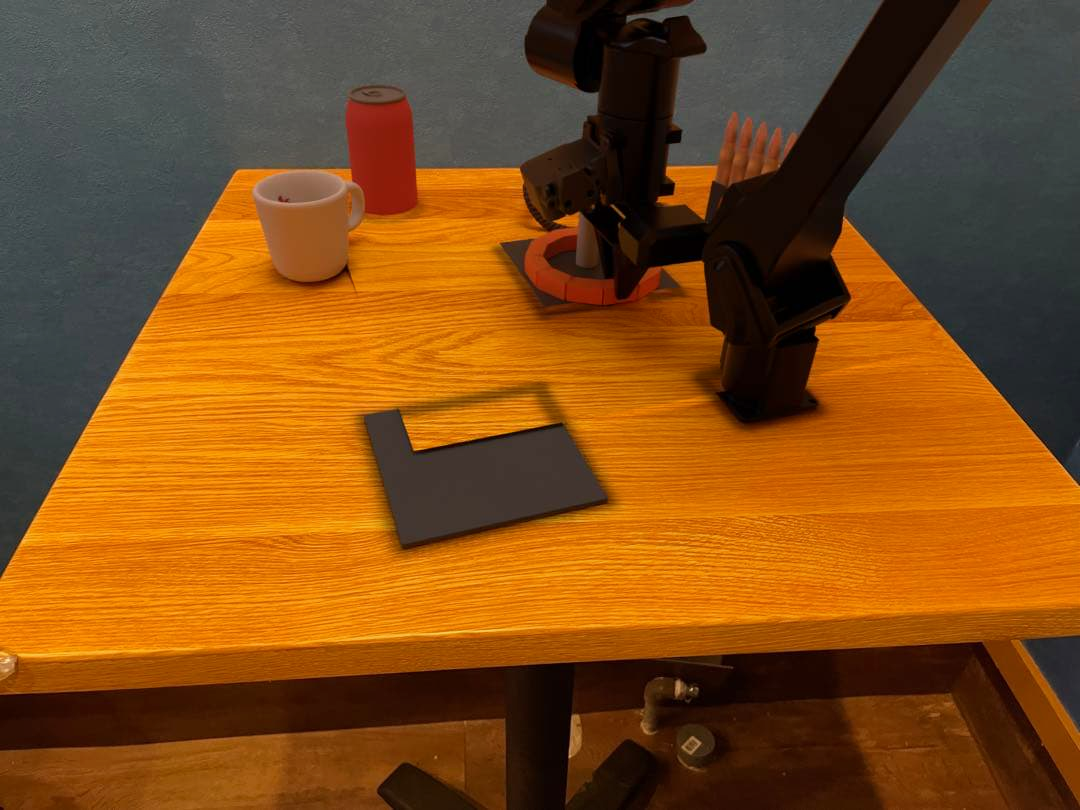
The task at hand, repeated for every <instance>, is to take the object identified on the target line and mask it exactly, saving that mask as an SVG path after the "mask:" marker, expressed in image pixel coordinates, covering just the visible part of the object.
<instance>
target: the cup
mask: <svg viewBox="0 0 1080 810" xmlns="http://www.w3.org/2000/svg"><path fill="white" fill-rule="evenodd" d="M251 194H252V198H253V202H254V205H255V209H256V212H257V215H258V218H259V223H260V226H261V229H262V232H263V236H264V239H265V242H266V245H267V249H268V252H269V256H270V258H271V261H272V264H273V266H274V268H275V269H276V271H277V272H278V273H279V274H280V275H281V276H282V277H284V278H286V279H288V280H290V281H294V282H295V281H296V282H303V283H315V282H320V281H325V280H328V279H330V278H333V277H335V276H337V275H338V274H340V273H341V272H342V271H343V270H344V269H345V267H346V265H347V263H348V261H349V247H350V245H349V233H351V232H353V231H354V230H356V229H357V228H358V227H360V225H361V224H362V222H363V219H364V216H365V212H364V211H365V200H364V194H363V191H362V189H361V188H360V187H359V185H357V184H356V183H353V182H352V181H350V180H345V179H344V178H343V177H341V176H340V175H337V174H335V173H332V172H329V171H325V170H324V171H323V170H313V169H299V170H297V169H296V170H289V171H283V172H278V173H275V174H272V175H268V176H266V177H264V178H262V179H260V180H259V181H258V182H256V184H255V185H254V186H253V188H252V193H251ZM349 194H350V197H351V210H350V215H349Z"/></svg>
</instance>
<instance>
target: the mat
mask: <svg viewBox="0 0 1080 810" xmlns="http://www.w3.org/2000/svg"><path fill="white" fill-rule="evenodd" d="M363 419H364V424H365V427H366V430H367V433H368V437H369V440H370V444H371V447H372V450H373V454H374V457H375V460H376V464H377V467H378V470H379V472H380V477H381V480H382V483H383V487H384V492H385V495H386V497H387V501H388V504H389V508H390V511H391V515H392V518H393V521H394V525H395V527H396V528H395V529H396V531H397V534H398V537H399V542H400V544H401V547H402V549H403V550H404V549H408V548H412V547H418V546H421V545H426V544H430V543H431V544H432V543H436V542H439V541H443V540H448V539H453V538H456V537H461V536H466V535H471V534H474V533H480V532H482V531H488V530H493V529H498V528H499V527H501V528H502V527H505V526H510V525H514V524H518V523H523V522H526V521H532V520H535V519H536V520H537V519H540V518H544V517H545V518H546V517H549V516H552V515H553V516H554V515H558V514H562V513H566V512H571V511H575V510H576V511H577V510H579V509H583V508H589V507H592V506H598V505H601V504H606V503H608V500H609V498H608V496H607V494H606V492H605V491H604V489H603V487H602V486H601V484H600V482H599V481H598V479H597V477H596V475H595V473H594V472H593V471H592V469H591V468H590V466H589V464H588V462H587V460H586V459H585V458H584V456H583V454H582V453H581V451H580V449H579V447H578V446H577V445H576V443H575V441H574V440H573V437H572V436H571V435H570V433H569V431H568V430H567V428H566V426H565V424H564V423H563V422H556V423H551V424H546V425H542V426H541V425H540V426H537V427H536V426H535V427H532V428H531V427H530V428H526V429H521V430H516V431H511V432H505V433H500V434H495V435H490V436H489V435H488V436H485V437H484V436H483V437H479V438H475V439H474V438H473V439H470V440H463V441H459V442H454V443H448V444H444V445H438V446H433V447H428V448H423V449H422V448H421V449H417V450H414V447H413V445H412V441H411V439H410V436H409V433H408V430H407V428H406V425H405V422H404V420H403V416H402V414H401V411H400V408H395V409H389V410H384V411H379V412H372V413H366V414H364V415H363Z"/></svg>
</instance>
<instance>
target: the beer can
mask: <svg viewBox="0 0 1080 810" xmlns="http://www.w3.org/2000/svg"><path fill="white" fill-rule="evenodd" d="M347 97H348V99H347V100H348V101H347V103H346V108H345V118H344V119H345V129H346V137H347V146H348V147H347V148H348V155H349V164H350V165H349V167H350V174H351V175H350V176H351V182H353V183H356V184H357V185H359V187H360V188H361V189H362V191H363V194H364V200H365V211H364V214H369V215H376V216H394V215H399V214H404V213H407V212H410V211H411V210H413V209H415V208H416V207H417V206H418V203H419V200H418V199H419V198H418V183H417V167H416V166H417V165H416V149H415V135H414V134H415V133H414V117H413V111H412V108H411V105H410V103H409V101H408V99H407V92H406V91H405V90H404V88H402V87H400V86H396V85H392V84H366V85H359V86H356V87H354V88H352V89H350V90H349V91H348V93H347Z"/></svg>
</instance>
